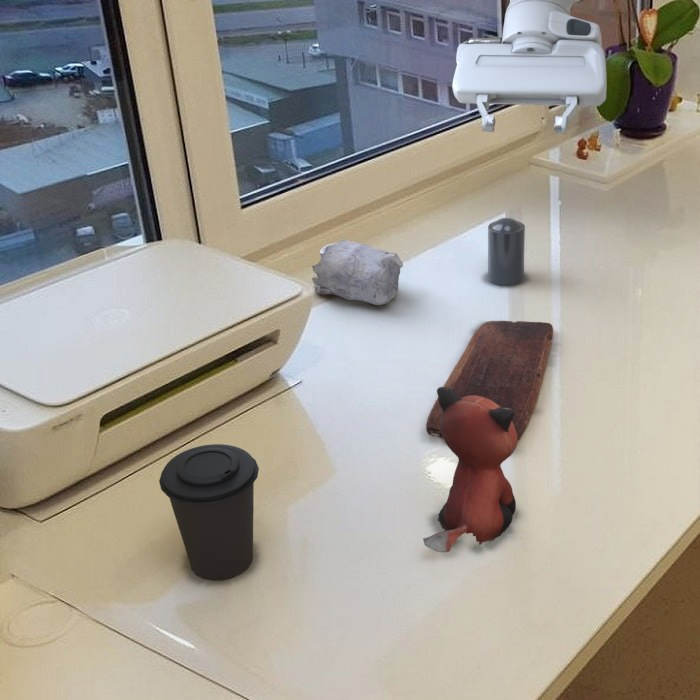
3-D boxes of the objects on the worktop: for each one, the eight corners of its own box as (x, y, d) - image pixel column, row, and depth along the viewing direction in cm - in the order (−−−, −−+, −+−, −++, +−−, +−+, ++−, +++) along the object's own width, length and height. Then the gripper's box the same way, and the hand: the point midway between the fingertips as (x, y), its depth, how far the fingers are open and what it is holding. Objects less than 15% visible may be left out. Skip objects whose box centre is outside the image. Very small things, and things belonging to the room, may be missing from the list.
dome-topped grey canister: (520, 270, 140) (521, 211, 136) (526, 284, 136) (528, 224, 132) (485, 272, 140) (485, 213, 136) (490, 287, 136) (491, 226, 132)
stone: (387, 315, 130) (385, 263, 127) (304, 299, 136) (300, 249, 132) (416, 290, 136) (415, 240, 133) (336, 276, 142) (332, 227, 138)
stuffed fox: (395, 552, 90) (389, 433, 85) (453, 483, 99) (452, 370, 93) (476, 579, 87) (476, 456, 81) (530, 505, 95) (533, 389, 89)
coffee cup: (255, 595, 87) (242, 494, 82) (160, 588, 88) (142, 489, 83) (278, 533, 94) (268, 437, 89) (190, 527, 95) (175, 432, 90)
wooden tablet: (481, 310, 127) (565, 309, 123) (483, 326, 128) (567, 326, 124) (418, 428, 105) (518, 431, 101) (421, 447, 106) (520, 451, 102)
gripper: (455, 24, 143) (441, 116, 140) (611, 25, 138) (601, 121, 134) (462, 50, 149) (448, 139, 145) (611, 52, 144) (602, 144, 140)
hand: (523, 130), depth 140 cm, fingers open, 8 cm apart
